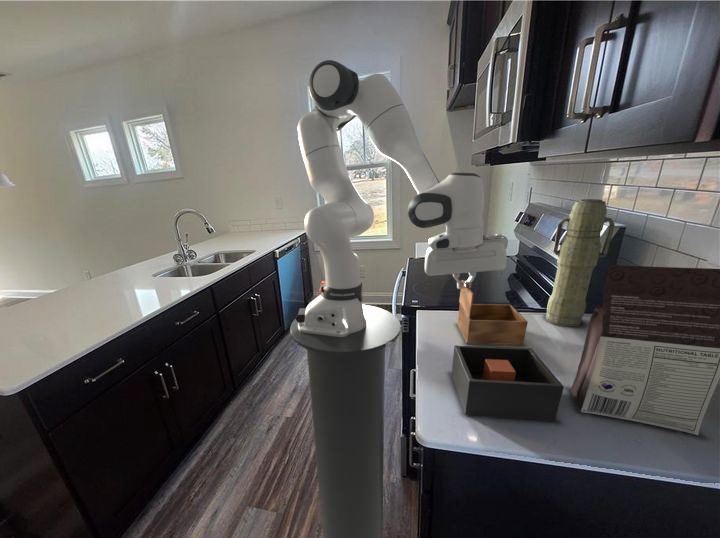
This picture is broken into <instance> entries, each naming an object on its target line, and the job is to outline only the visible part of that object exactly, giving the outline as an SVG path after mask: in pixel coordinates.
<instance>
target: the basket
mask: <svg viewBox="0 0 720 538" xmlns="http://www.w3.org/2000/svg"><path fill="white" fill-rule="evenodd" d="M485 359H493V360H508V361H509V363H510V364H511V366H512V367H513V368H514V370H515V371H516V375H515V380H514V381H497V380H482V377H483V370H484V363H485ZM451 365H452V366H451V377H452V380H453V383H454V386H455V389H456V392H457V394H458V399H459V401H460V403H461V407H462V411H463V412H464V415H466V416H477V417H478V416H479V417H491V418H505V419H518V420H531V421H545V422H556V419H557V416H558V415H557V414H558V412H559V408H560V403H561V400H562V396H563V391H564V389H565V386H564V385H563V383H562V382H561V381H560V380H559V379H558V377H556V375H555V374H554V373H553V372H552V371H551V369H550V368H549V367H548V366H547V365H546V364H545V362H544V361H543V360H542V359H541V358H540V356H538V354H537V353H536V352H535V351H534V349H533V348H532V347H517V346H515V347H512V346H489V345H487V346H485V345H483V346H482V345H457V344H456V345H455V344H454V346H453V356H452V364H451Z"/></svg>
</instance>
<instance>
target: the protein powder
mask: <svg viewBox="0 0 720 538" xmlns="http://www.w3.org/2000/svg"><path fill="white" fill-rule="evenodd" d="M587 326H588V327H587V331H586V336H585V341H584V345H583V349H582V353H581V357H580V361H579V364H578V367H577V371H576V374H575V377H574V380H573V383H572V385H571V387H570V389H569V390H570V391H571V394H572V395H573V398H574V400H575V402H576V405H577V408H578V410H579V413H585V414H591V415H592V414H593V415H599V416H603V417H604V416H605V417H610V418H616V419H621V420H627V421H633V422H637V423H641V424H645V425H647V424H648V425H652V426H657V427H661V428H667V429H671V430H676V431H680V432H685V433H688V434H691V435H694V436H695V435H696V436H700V429H701V426H702V422H703V420H704V417H705V414H706V412H707V410H708V406H709V404H710V401H711V400H712V397H713V395H714V392H715V391H716V387H717V385H718V383H719V381H720V268H706V267H705V268H704V267H677V266H674V267H671V266H646V265H645V266H643V265H624V264H623V265H621V264H615V265H611V266H609V268H608V270H607V275H606V280H605V285H604V288H603V295H602V297H601V300H600V302H599V304H598V305H596V307H594V310H593V313H592V314H591V316H590V319H589V322H588V325H587Z"/></svg>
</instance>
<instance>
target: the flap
mask: <svg viewBox="0 0 720 538" xmlns="http://www.w3.org/2000/svg"><path fill="white" fill-rule="evenodd" d="M461 281H463V282H464V281H465V280H464V279H462V280H461ZM474 295H475V293H474V292H473V291H472V289H471V288H465V287H464V288H463V289H460V293H459V299H458V302H459V305H460V304H461V305H462V307H463V309H464V310H465V312H466V314H467V316H468V317H469V318H471V312H472V305H473V304H474Z"/></svg>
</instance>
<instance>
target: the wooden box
mask: <svg viewBox="0 0 720 538" xmlns="http://www.w3.org/2000/svg"><path fill="white" fill-rule="evenodd" d="M458 307H459V309H458V317H457V327H458V329H459V330H460V333H461V335H462V337H463V339H464V341H465V343H466V345H488V346H489V345H492V346H519V347H520V346H522V347H524V344H525V338H526V333H527V329H528V328H527V327H528V323H529V321H528V320H527V319H526V318H525V317H523V316H522V314H521V313H520V312H519V311H518V310H517V309H516V308H515V307H514V306H513V305H512V304H507V303H506V304H505V303H503V304H502V303H500V304H499V303H498V304H497V303H473V305H472V312H471V318H469V317H468V316H467V314H466V312H465V310H464V309H463V307H462V305H461V304H460V303H459V305H458Z"/></svg>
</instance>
